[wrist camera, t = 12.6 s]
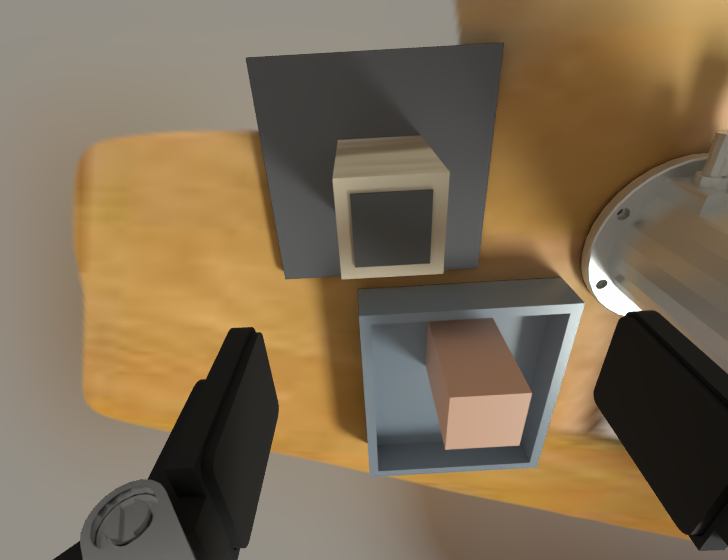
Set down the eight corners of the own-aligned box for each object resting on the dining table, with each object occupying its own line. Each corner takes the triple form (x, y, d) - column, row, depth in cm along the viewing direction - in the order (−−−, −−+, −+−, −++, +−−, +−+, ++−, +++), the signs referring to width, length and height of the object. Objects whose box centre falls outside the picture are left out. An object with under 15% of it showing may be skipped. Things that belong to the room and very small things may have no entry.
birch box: (337, 139, 23) (332, 179, 16) (420, 135, 23) (450, 172, 16) (344, 217, 26) (341, 281, 19) (418, 213, 26) (443, 275, 19)
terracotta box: (427, 318, 30) (449, 397, 24) (491, 315, 30) (532, 392, 24) (425, 366, 33) (445, 449, 26) (484, 362, 33) (519, 445, 26)
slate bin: (357, 289, 30) (358, 316, 27) (561, 277, 30) (584, 303, 27) (368, 444, 39) (370, 476, 36) (522, 435, 39) (536, 467, 36)
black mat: (249, 57, 22) (245, 57, 21) (498, 42, 22) (503, 42, 21) (287, 273, 29) (285, 279, 28) (474, 263, 29) (477, 268, 28)
